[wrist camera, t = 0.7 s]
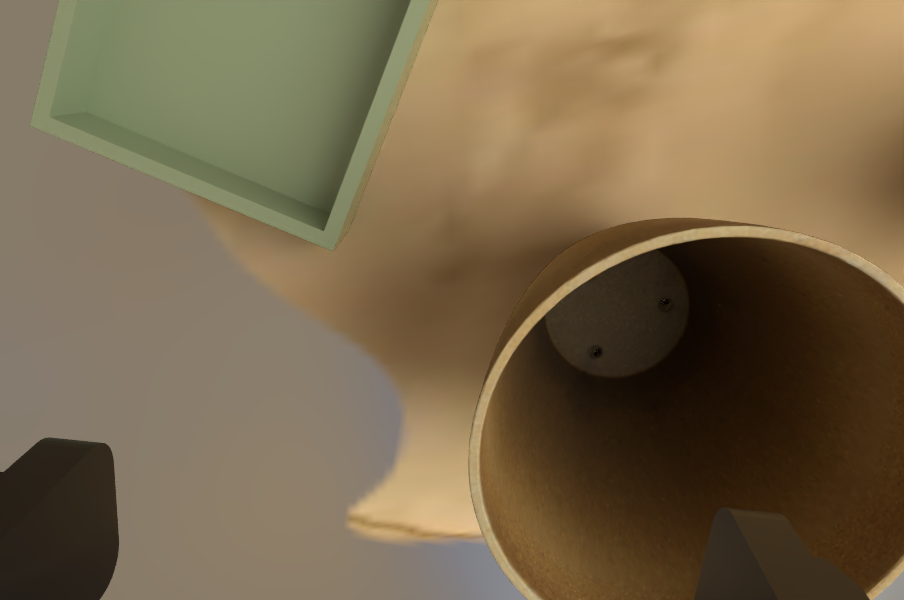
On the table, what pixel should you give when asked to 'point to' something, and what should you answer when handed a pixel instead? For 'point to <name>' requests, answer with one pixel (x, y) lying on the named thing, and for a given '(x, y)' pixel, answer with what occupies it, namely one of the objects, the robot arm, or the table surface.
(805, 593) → the robot arm
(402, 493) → the table surface
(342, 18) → the olive bin
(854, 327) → the plant pot
